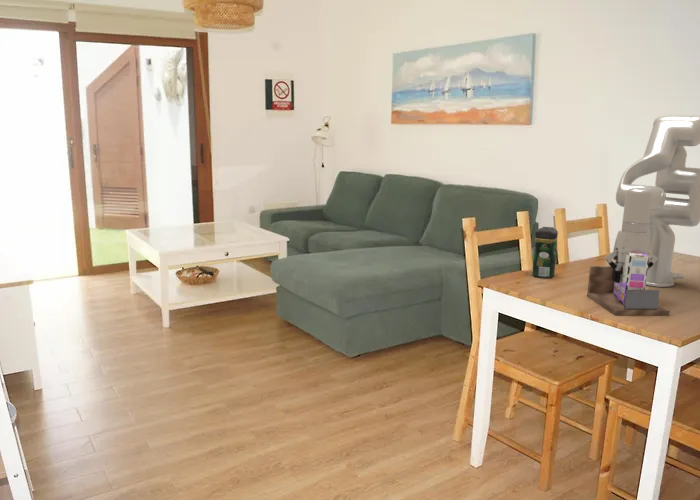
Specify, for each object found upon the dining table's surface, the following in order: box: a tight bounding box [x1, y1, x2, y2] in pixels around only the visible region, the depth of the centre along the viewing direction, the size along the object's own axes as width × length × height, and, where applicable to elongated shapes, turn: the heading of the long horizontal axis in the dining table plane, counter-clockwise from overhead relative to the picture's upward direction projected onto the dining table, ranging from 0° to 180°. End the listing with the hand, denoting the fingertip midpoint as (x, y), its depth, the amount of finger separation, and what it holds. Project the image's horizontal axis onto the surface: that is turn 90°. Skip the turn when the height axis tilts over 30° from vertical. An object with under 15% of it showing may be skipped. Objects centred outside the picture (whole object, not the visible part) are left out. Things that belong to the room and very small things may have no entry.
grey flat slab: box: [624, 289, 660, 310], centre depth 181 cm, size 10×1×6 cm, turn 92°
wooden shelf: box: [586, 265, 671, 316], centre depth 189 cm, size 17×20×10 cm
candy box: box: [613, 252, 649, 305], centre depth 189 cm, size 14×6×16 cm, turn 170°
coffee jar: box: [532, 226, 559, 279], centre depth 224 cm, size 10×8×19 cm
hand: (628, 281), depth 189 cm, fingers open, 7 cm apart
